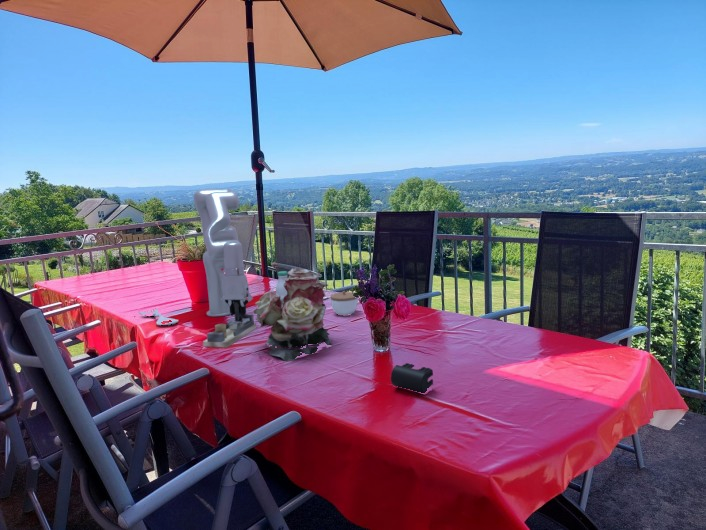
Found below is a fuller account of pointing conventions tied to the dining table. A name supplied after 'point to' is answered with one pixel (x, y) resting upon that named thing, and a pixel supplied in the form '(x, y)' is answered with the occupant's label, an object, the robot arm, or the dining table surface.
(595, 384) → the dining table surface
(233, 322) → the ram
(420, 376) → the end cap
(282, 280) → the milk bottle
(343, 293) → the lidded bowl
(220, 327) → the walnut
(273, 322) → the rose bouquet
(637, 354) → the dining table surface
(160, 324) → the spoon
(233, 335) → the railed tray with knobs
